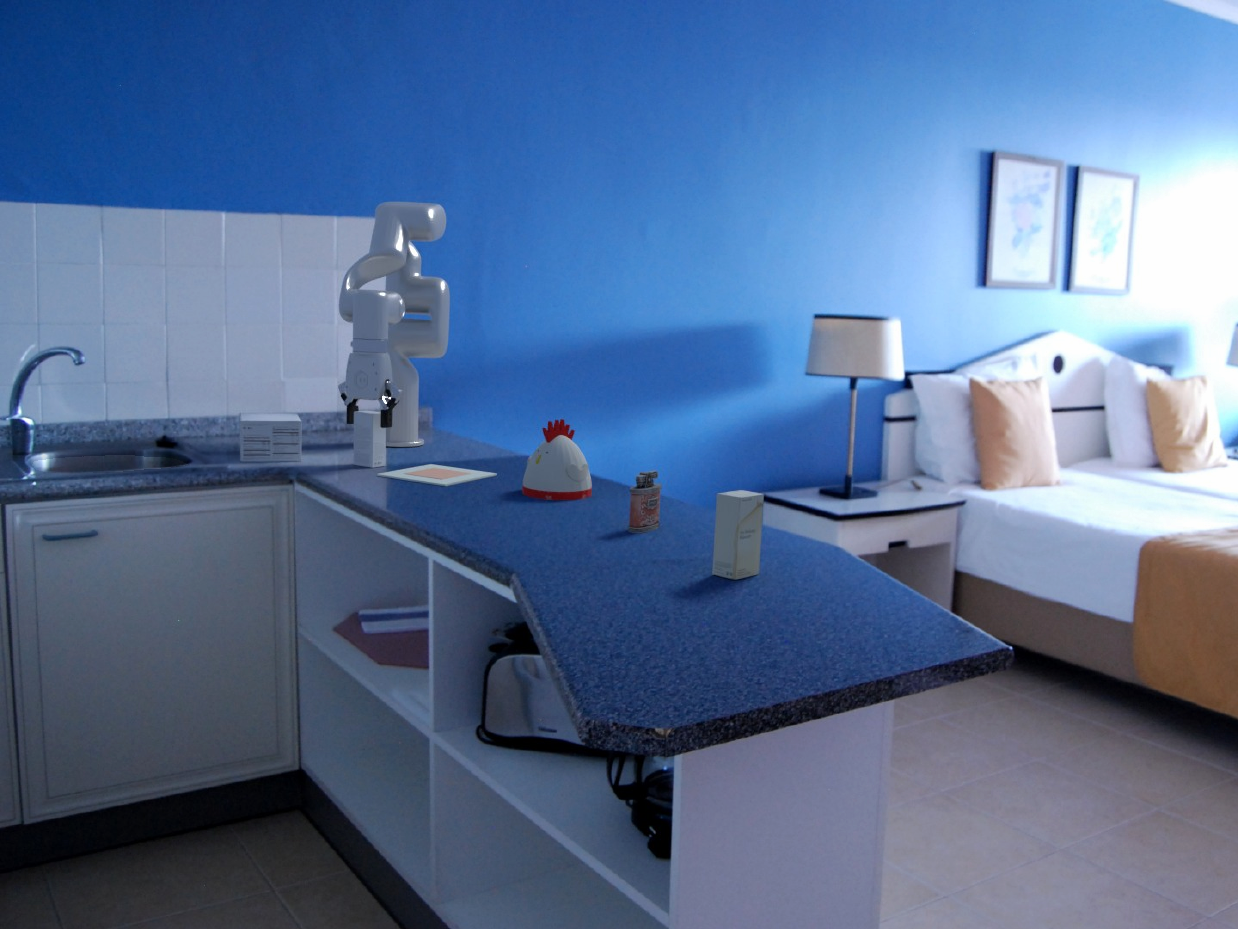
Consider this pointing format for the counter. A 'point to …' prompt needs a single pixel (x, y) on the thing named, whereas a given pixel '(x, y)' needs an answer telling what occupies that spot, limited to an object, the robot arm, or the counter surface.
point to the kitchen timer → (557, 467)
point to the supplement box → (269, 437)
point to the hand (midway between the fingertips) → (369, 425)
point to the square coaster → (437, 475)
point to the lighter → (645, 503)
